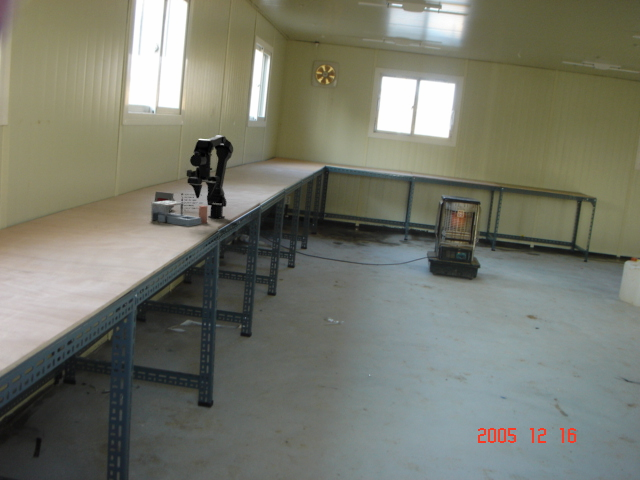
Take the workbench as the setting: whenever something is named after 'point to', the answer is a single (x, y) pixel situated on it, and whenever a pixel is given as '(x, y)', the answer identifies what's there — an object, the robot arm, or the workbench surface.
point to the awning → (163, 208)
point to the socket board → (180, 219)
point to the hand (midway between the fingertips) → (203, 197)
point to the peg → (203, 213)
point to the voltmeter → (170, 198)
